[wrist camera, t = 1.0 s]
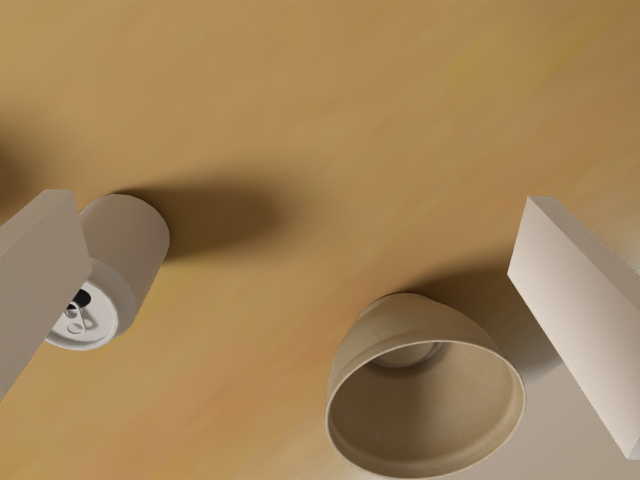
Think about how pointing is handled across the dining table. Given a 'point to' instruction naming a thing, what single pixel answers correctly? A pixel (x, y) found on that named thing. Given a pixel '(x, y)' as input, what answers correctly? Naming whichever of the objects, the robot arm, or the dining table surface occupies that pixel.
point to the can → (113, 271)
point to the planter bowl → (420, 391)
